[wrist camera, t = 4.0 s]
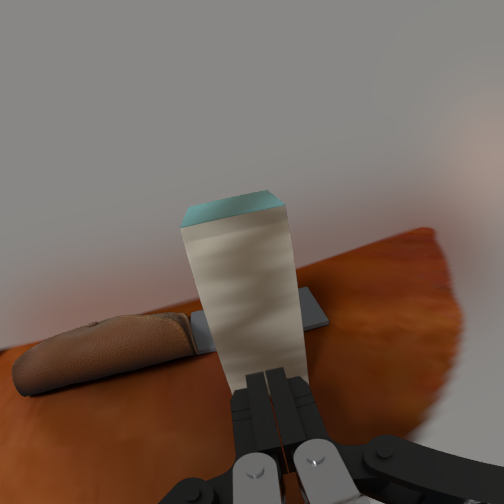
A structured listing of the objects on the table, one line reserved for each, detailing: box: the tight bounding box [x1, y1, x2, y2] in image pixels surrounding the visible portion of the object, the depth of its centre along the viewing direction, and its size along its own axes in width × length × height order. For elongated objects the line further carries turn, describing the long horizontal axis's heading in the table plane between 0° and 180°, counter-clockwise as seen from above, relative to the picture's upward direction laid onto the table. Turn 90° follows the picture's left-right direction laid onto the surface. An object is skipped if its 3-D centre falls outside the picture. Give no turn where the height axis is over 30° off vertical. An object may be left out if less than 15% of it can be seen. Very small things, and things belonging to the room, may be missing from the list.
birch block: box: [180, 190, 309, 395], centre depth 18 cm, size 5×5×12 cm
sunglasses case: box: [12, 312, 198, 397], centre depth 22 cm, size 18×7×7 cm, turn 108°
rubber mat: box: [189, 287, 329, 356], centre depth 26 cm, size 12×6×1 cm, turn 97°
